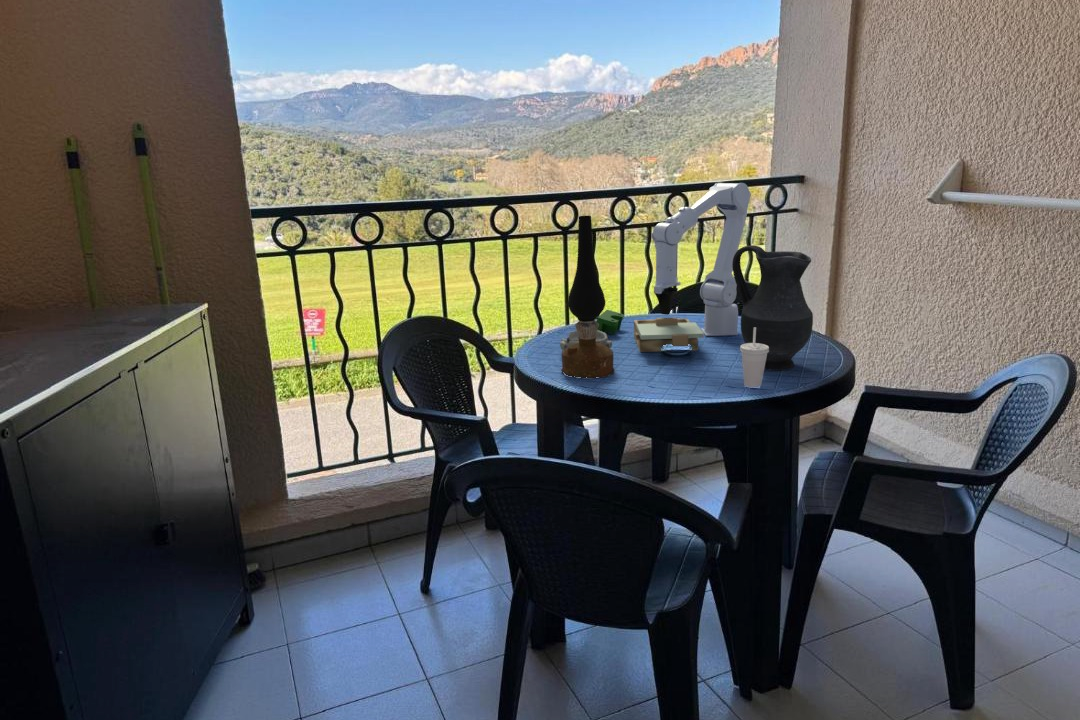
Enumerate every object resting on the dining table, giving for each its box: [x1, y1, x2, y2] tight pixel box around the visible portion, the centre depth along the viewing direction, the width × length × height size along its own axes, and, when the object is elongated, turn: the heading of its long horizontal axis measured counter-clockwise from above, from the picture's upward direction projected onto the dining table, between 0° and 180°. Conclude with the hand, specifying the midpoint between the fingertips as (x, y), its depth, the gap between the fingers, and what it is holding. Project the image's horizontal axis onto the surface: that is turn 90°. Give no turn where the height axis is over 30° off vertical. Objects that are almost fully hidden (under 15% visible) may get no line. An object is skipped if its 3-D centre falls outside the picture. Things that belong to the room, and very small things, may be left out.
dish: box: [559, 329, 613, 353], centre depth 190 cm, size 14×14×5 cm
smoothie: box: [739, 327, 769, 387], centre depth 156 cm, size 6×6×14 cm
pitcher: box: [732, 244, 814, 371], centre depth 169 cm, size 17×21×30 cm
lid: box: [636, 316, 705, 346], centre depth 186 cm, size 17×14×5 cm
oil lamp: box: [560, 215, 615, 378], centre depth 170 cm, size 14×15×40 cm
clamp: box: [595, 309, 625, 335], centre depth 210 cm, size 12×6×9 cm, turn 153°
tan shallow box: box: [633, 318, 699, 353], centre depth 195 cm, size 16×17×5 cm
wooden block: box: [634, 333, 641, 341], centre depth 189 cm, size 6×2×1 cm, turn 88°
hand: (665, 313), depth 192 cm, fingers closed
